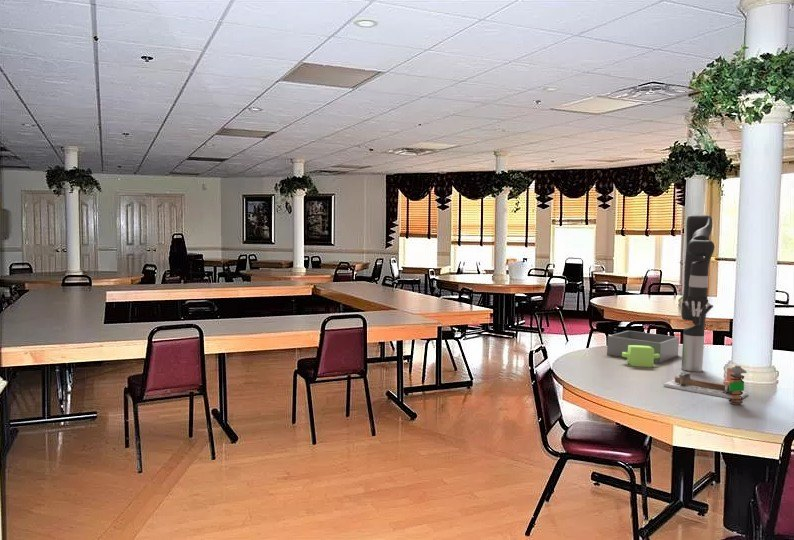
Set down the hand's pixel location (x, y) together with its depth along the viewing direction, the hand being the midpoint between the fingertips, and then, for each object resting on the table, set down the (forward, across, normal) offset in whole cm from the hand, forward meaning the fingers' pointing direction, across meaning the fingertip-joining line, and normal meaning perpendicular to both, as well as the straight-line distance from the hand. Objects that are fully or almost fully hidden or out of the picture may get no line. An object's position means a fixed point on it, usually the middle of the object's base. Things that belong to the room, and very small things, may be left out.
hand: (696, 324), depth 280 cm
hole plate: (+26, -8, +10) cm, 29 cm away
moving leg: (+24, -16, +9) cm, 31 cm away
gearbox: (+28, +31, -23) cm, 47 cm away
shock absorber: (+26, -22, +23) cm, 41 cm away
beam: (+25, -8, +9) cm, 28 cm away
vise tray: (+28, +39, -49) cm, 69 cm away
